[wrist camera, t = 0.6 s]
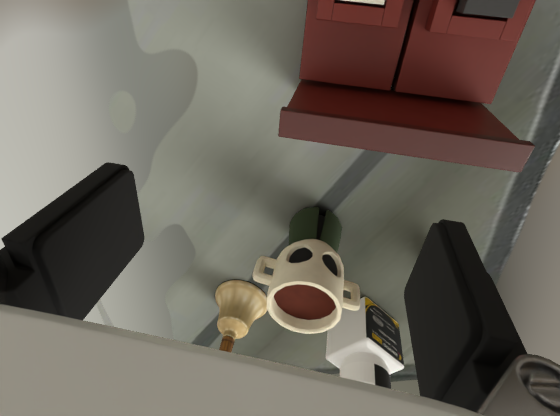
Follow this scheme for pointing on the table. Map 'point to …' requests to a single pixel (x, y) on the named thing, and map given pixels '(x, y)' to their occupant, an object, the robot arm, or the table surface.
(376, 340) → the medicine bottle
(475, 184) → the table surface
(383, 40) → the red white-inset block
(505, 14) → the ebony key
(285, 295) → the character mug
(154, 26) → the table surface
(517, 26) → the red grey-inset block
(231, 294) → the hand bell
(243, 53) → the table surface
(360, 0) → the ivory key
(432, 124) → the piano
